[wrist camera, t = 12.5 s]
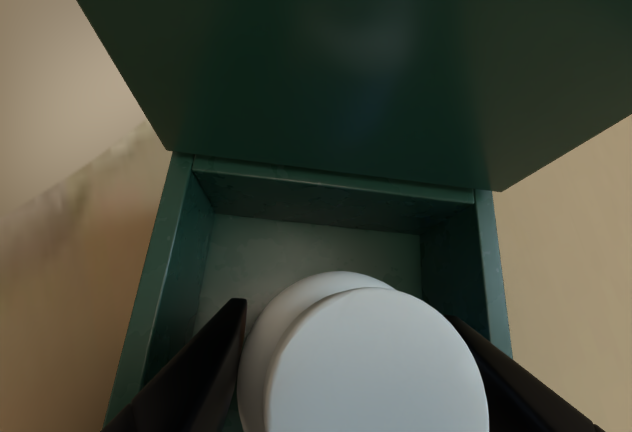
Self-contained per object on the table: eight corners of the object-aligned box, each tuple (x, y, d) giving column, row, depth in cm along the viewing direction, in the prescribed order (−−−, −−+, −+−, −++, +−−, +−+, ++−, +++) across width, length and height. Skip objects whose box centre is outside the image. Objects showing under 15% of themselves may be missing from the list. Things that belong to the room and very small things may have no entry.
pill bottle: (251, 296, 15) (213, 254, 6) (359, 286, 15) (481, 237, 6) (255, 427, 13) (208, 679, 4) (376, 408, 14) (575, 580, 5)
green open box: (439, 520, 14) (551, 658, 8) (143, 517, 12) (37, 678, 7) (425, 227, 18) (492, 188, 12) (206, 203, 17) (172, 148, 11)
